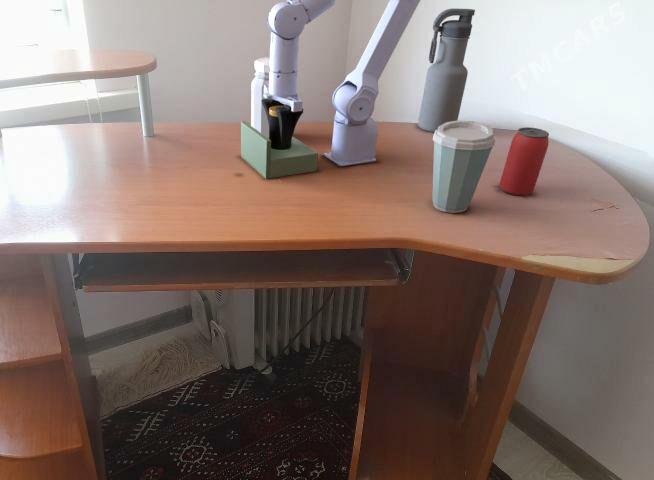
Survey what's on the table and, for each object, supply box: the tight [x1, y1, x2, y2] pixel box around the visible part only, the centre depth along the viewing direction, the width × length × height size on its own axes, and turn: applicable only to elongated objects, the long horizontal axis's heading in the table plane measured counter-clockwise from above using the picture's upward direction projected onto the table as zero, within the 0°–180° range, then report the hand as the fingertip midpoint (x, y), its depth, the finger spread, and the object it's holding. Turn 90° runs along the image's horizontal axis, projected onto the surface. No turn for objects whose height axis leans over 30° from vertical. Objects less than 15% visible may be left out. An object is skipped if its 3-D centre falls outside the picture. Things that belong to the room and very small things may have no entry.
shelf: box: [240, 121, 319, 180], centre depth 119 cm, size 12×14×8 cm
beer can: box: [498, 127, 550, 197], centre depth 107 cm, size 7×7×12 cm
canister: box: [269, 105, 292, 150], centre depth 117 cm, size 5×5×8 cm
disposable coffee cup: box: [432, 119, 496, 214], centre depth 100 cm, size 11×11×15 cm
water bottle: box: [417, 8, 476, 133], centre depth 137 cm, size 10×10×28 cm
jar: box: [250, 56, 270, 137], centre depth 131 cm, size 10×10×18 cm
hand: (280, 137), depth 118 cm, fingers closed on canister, 5 cm apart
